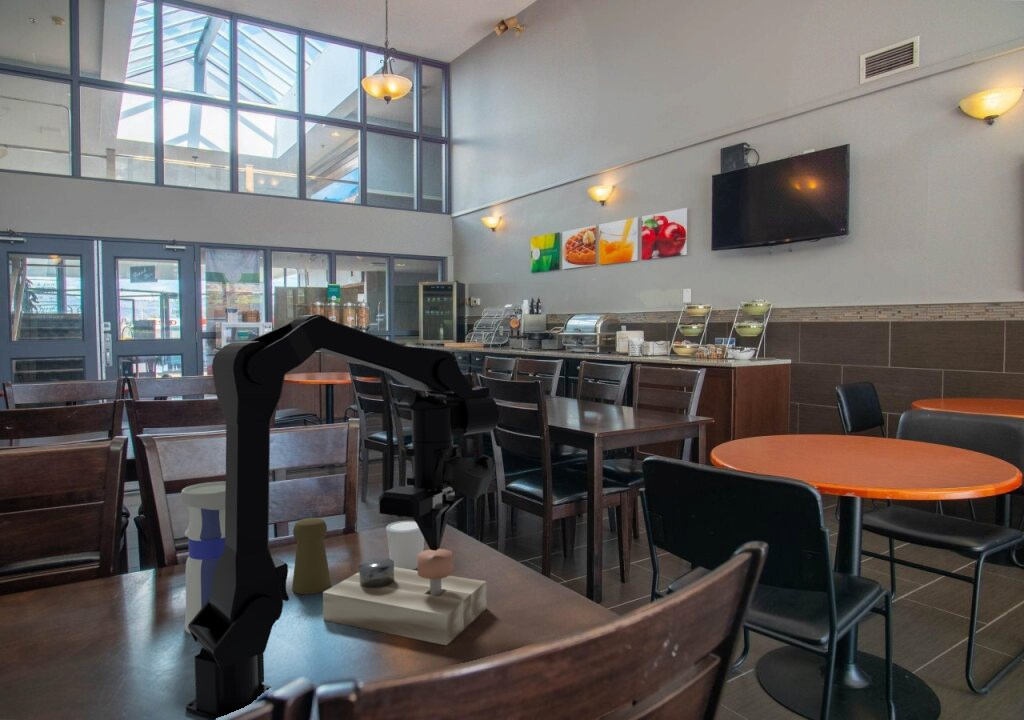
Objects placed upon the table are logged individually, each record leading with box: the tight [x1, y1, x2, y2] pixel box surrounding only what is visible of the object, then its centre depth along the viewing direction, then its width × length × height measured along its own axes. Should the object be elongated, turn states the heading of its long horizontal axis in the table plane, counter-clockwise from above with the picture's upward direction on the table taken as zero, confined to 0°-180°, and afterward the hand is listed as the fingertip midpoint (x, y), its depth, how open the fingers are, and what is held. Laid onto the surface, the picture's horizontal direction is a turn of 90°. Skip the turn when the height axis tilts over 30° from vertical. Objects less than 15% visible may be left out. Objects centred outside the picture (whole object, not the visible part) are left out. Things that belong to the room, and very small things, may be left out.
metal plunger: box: [358, 557, 394, 587], centre depth 92 cm, size 5×5×6 cm
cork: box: [291, 517, 332, 595], centre depth 101 cm, size 6×6×11 cm
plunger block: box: [322, 567, 488, 646], centre depth 90 cm, size 12×20×4 cm, turn 67°
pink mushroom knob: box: [417, 548, 454, 596], centre depth 88 cm, size 5×5×6 cm
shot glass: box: [385, 520, 425, 570], centre depth 110 cm, size 7×7×7 cm
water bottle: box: [179, 480, 226, 635], centre depth 88 cm, size 8×9×25 cm
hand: (434, 549), depth 88 cm, fingers closed
